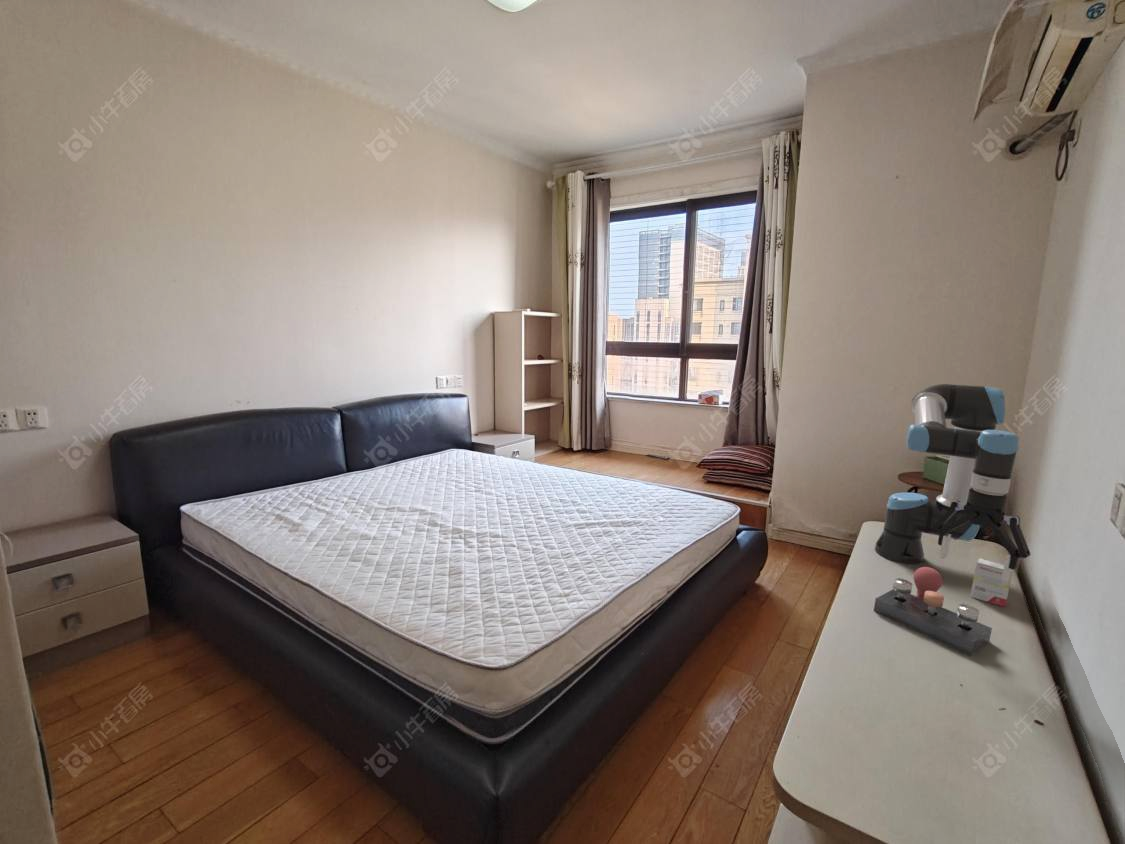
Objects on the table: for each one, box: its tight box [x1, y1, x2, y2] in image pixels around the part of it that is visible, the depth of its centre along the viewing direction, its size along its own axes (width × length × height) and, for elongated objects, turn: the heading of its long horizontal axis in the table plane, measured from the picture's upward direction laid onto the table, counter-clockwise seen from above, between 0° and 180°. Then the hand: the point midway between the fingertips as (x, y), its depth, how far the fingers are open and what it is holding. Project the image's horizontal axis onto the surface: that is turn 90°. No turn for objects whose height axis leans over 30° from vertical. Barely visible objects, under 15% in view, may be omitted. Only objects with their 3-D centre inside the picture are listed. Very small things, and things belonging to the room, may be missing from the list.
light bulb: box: [912, 566, 943, 600], centre depth 153 cm, size 7×7×12 cm
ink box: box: [970, 558, 1014, 608], centre depth 157 cm, size 9×5×12 cm, turn 46°
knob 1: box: [892, 578, 913, 602], centre depth 149 cm, size 4×4×6 cm
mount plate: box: [873, 588, 993, 657], centre depth 143 cm, size 12×24×4 cm, turn 32°
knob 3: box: [956, 603, 980, 631], centre depth 136 cm, size 4×4×6 cm
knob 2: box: [923, 591, 945, 616], centre depth 142 cm, size 4×4×6 cm
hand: (972, 568), depth 133 cm, fingers open, 13 cm apart
